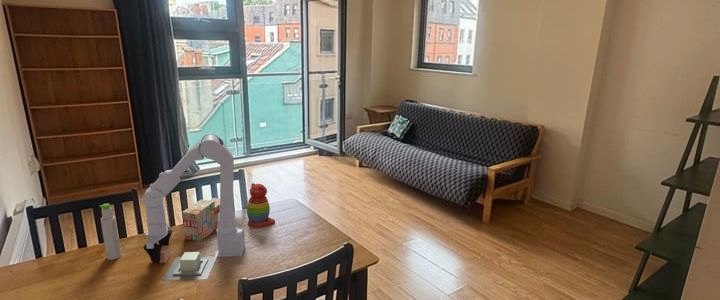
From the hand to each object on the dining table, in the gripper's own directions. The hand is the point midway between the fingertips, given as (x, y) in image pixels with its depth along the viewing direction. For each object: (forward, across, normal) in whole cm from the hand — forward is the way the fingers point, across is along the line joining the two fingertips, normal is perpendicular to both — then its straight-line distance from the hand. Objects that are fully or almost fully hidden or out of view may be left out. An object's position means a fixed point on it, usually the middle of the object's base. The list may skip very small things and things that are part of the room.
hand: (160, 256), depth 141 cm
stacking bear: (+2, -28, +30) cm, 41 cm away
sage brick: (+1, +6, +12) cm, 13 cm away
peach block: (+2, 0, 0) cm, 2 cm away
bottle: (+2, -3, -17) cm, 17 cm away
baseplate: (+2, +6, +12) cm, 14 cm away
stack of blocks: (+2, -23, +10) cm, 25 cm away
